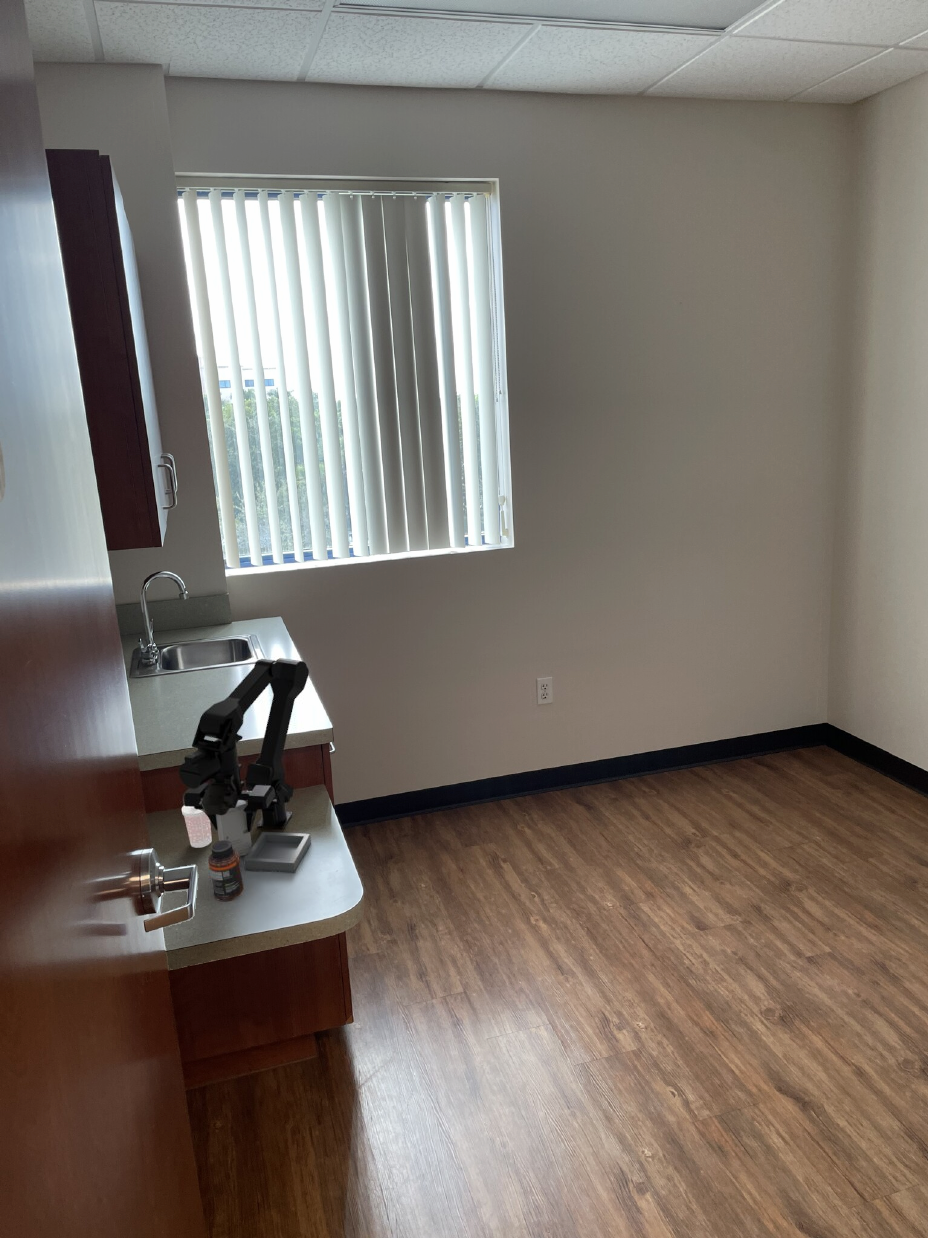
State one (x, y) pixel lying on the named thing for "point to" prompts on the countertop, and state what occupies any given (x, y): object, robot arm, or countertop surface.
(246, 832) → the skincare box
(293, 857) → the tray
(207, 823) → the beverage cup
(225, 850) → the supplement bottle
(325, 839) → the countertop surface
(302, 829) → the countertop surface
